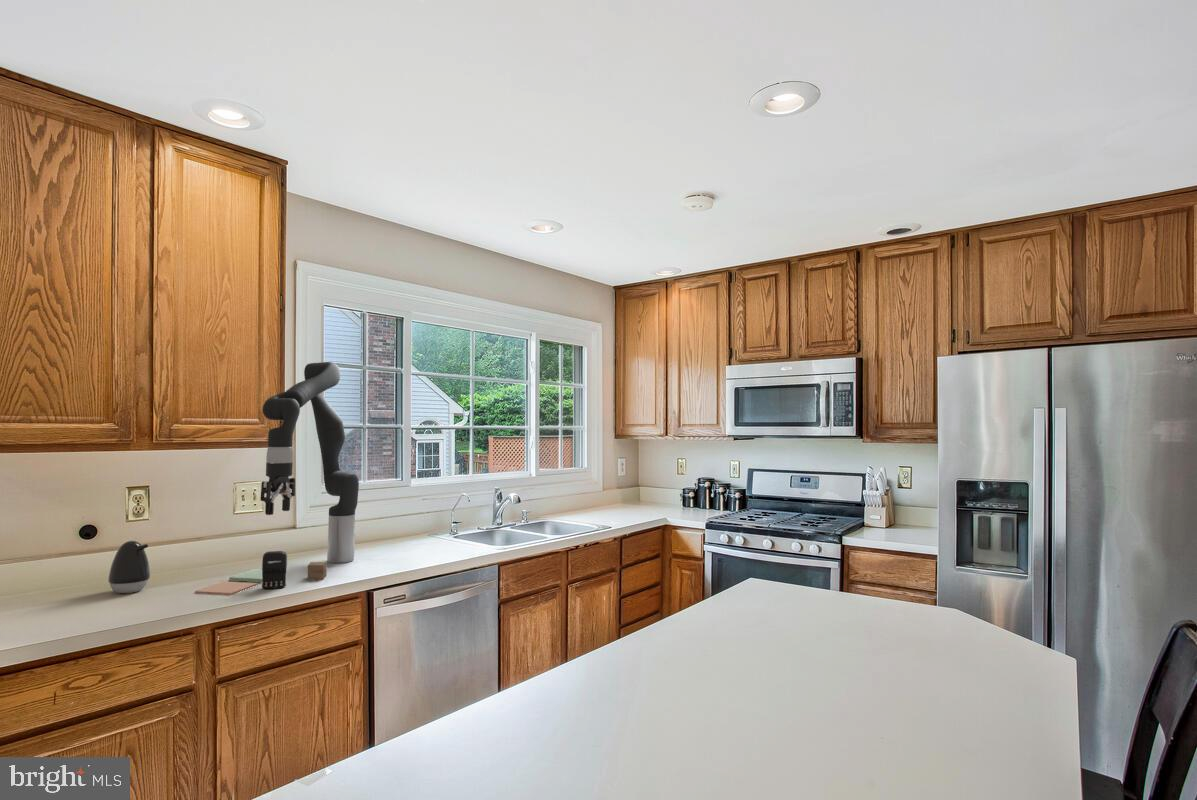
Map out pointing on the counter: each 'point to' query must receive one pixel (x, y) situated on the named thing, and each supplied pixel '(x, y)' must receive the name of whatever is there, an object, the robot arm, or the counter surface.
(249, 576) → the sage tile
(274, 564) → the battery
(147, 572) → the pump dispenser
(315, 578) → the walnut block
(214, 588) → the terracotta tile
